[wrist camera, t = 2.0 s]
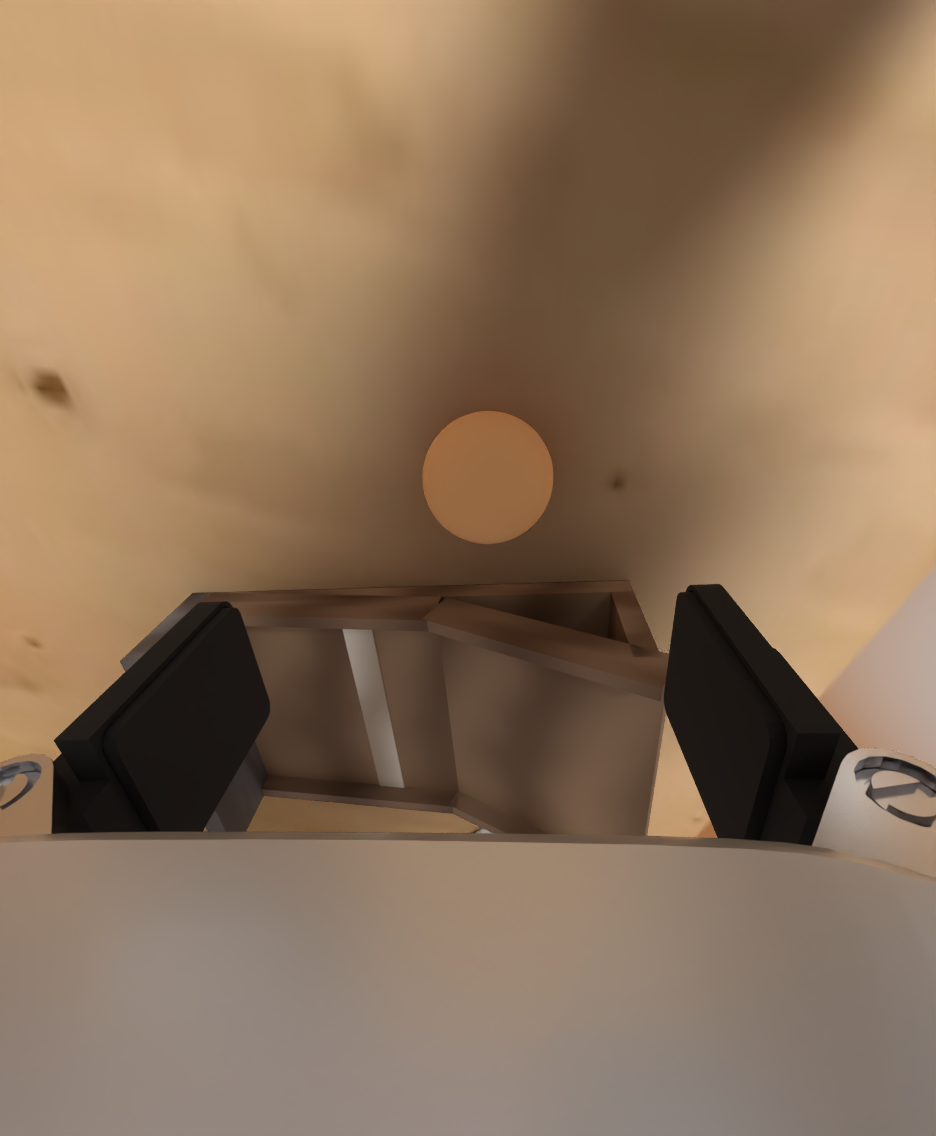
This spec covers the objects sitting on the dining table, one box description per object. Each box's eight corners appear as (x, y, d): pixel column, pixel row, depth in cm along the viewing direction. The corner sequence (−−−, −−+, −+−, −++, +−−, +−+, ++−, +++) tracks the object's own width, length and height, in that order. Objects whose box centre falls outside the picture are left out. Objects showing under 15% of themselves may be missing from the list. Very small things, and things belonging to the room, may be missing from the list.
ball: (502, 372, 20) (501, 394, 15) (571, 471, 21) (587, 517, 17) (408, 448, 21) (382, 487, 17) (478, 534, 23) (471, 590, 19)
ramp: (639, 580, 23) (690, 688, 17) (620, 770, 30) (651, 903, 23) (192, 593, 26) (85, 693, 19) (262, 768, 32) (198, 888, 25)
